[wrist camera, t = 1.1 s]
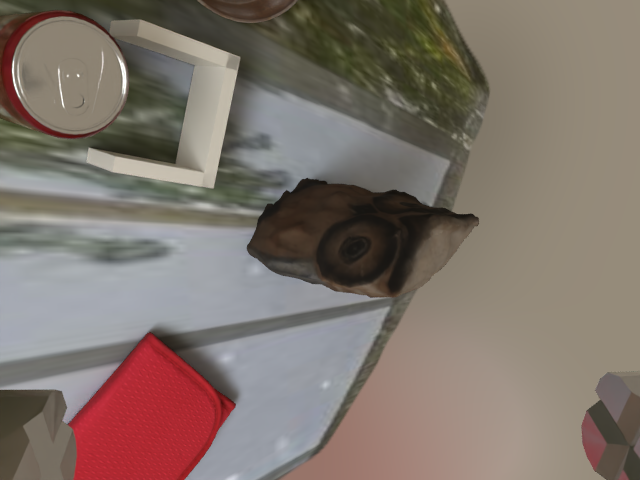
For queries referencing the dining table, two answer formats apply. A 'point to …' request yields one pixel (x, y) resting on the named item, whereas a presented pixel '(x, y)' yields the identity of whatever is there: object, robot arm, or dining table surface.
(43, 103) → the soda can
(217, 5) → the plant saucer
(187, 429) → the dish drying mat
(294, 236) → the brown irregular lump
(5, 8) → the dining table surface
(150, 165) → the beige angled piece
